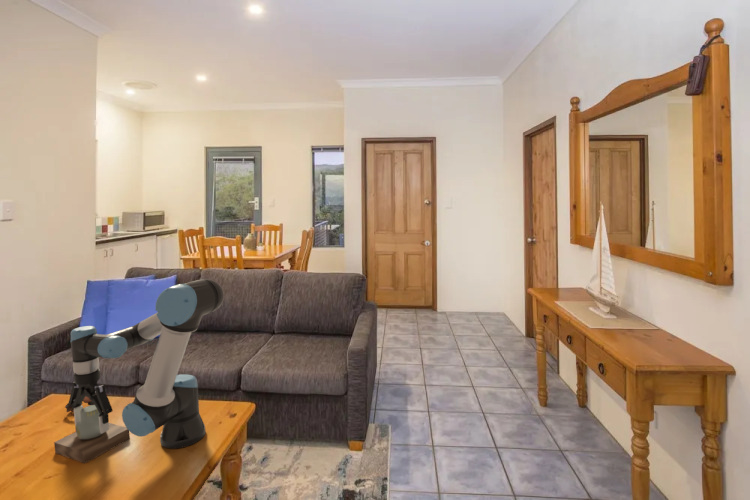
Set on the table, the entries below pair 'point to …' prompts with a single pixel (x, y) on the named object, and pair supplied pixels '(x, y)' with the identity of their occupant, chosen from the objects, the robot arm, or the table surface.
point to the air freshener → (88, 423)
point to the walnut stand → (91, 444)
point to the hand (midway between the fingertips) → (92, 427)
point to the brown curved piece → (86, 400)
